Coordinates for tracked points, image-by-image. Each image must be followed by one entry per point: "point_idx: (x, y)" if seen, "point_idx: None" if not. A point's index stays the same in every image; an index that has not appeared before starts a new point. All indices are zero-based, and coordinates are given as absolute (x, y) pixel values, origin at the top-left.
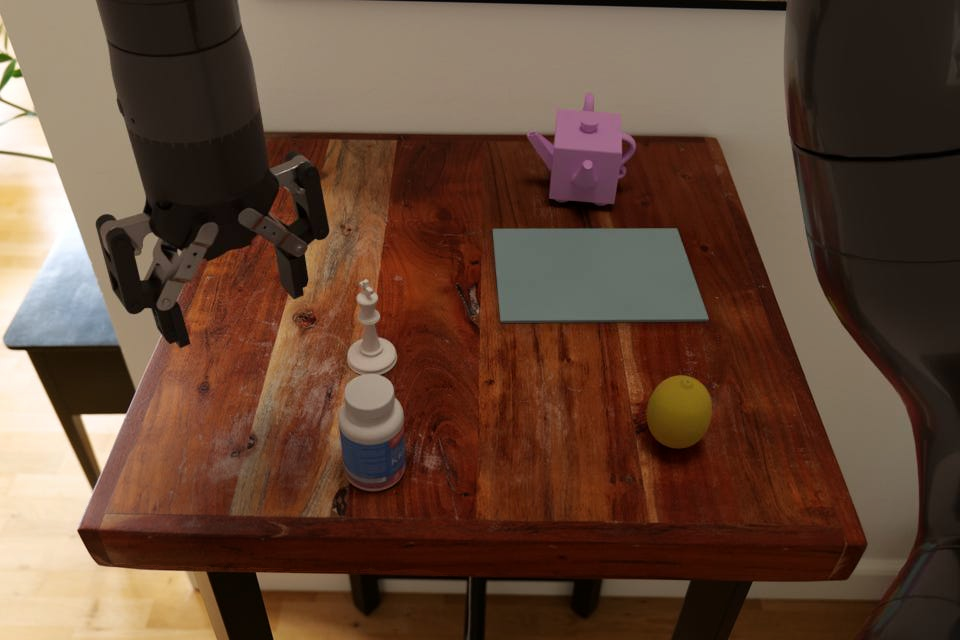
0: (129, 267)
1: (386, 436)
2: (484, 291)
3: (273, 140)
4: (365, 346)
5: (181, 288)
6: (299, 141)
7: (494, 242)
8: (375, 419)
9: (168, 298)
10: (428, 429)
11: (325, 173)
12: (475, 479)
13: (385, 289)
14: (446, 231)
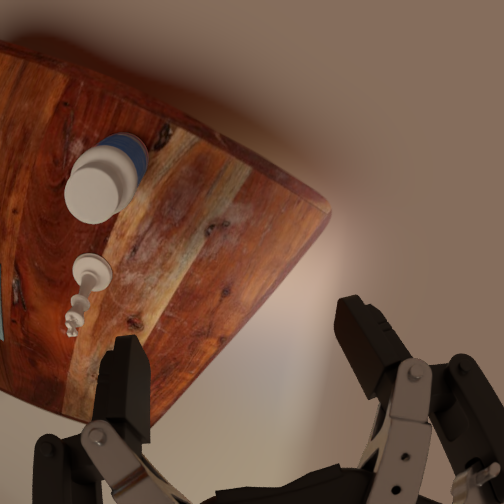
0: (499, 437)
1: (96, 147)
2: (8, 296)
3: None
4: (92, 280)
5: (393, 402)
6: None
7: (1, 330)
8: (97, 162)
9: (413, 381)
10: None
11: None
12: (53, 116)
13: None
14: (31, 351)
